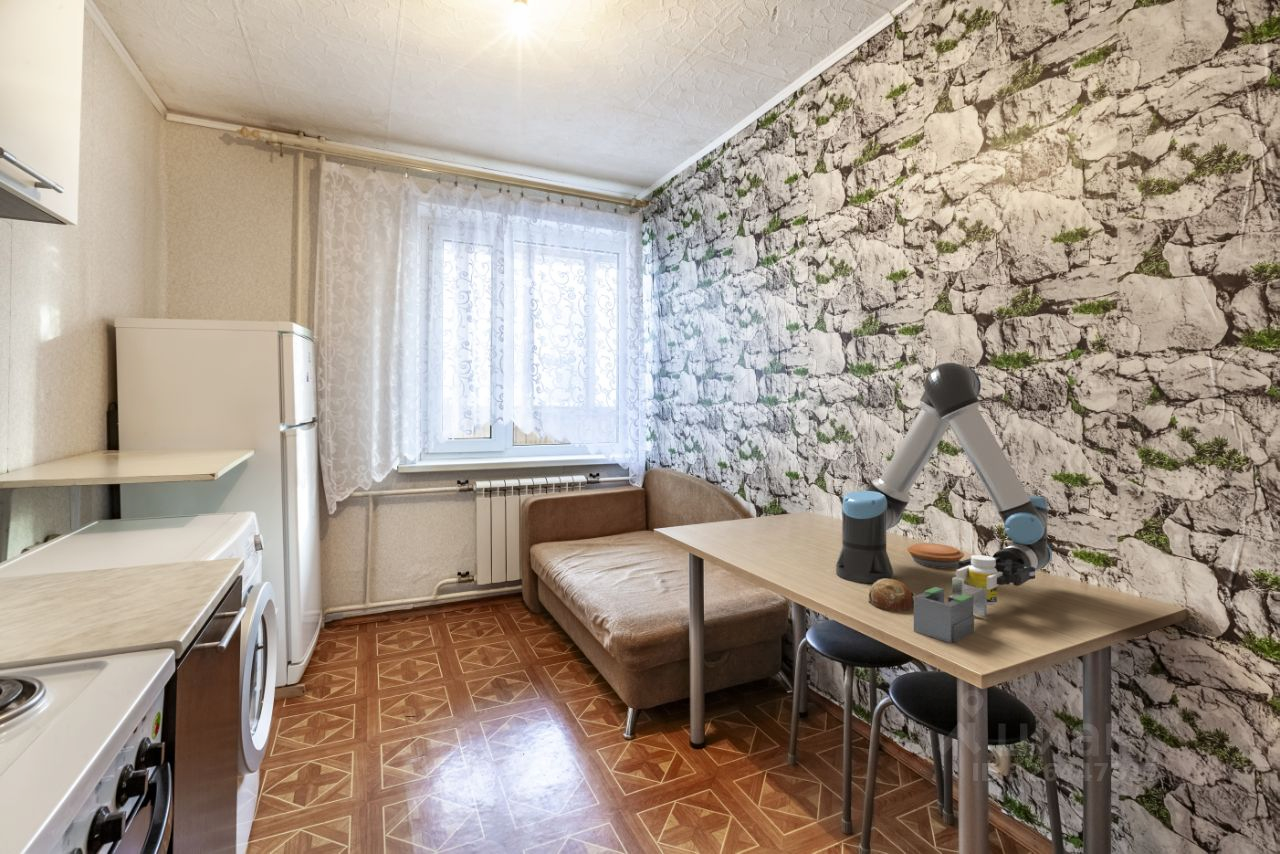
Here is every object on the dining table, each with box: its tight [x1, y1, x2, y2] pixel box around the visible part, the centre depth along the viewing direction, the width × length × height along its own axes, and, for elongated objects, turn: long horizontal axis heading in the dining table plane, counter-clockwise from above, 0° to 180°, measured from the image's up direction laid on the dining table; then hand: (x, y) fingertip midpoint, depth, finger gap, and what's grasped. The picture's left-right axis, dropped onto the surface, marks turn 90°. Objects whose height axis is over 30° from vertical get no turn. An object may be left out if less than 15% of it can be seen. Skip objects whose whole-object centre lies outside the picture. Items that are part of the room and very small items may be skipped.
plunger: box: [947, 576, 988, 617], centre depth 123 cm, size 10×5×9 cm, turn 126°
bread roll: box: [867, 578, 915, 612], centre depth 135 cm, size 10×10×8 cm
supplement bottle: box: [967, 554, 998, 606], centre depth 128 cm, size 6×6×10 cm
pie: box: [906, 542, 965, 568], centre depth 170 cm, size 15×16×5 cm
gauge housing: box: [913, 586, 975, 644], centre depth 118 cm, size 10×8×8 cm
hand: (972, 579), depth 125 cm, fingers closed on supplement bottle, 6 cm apart
